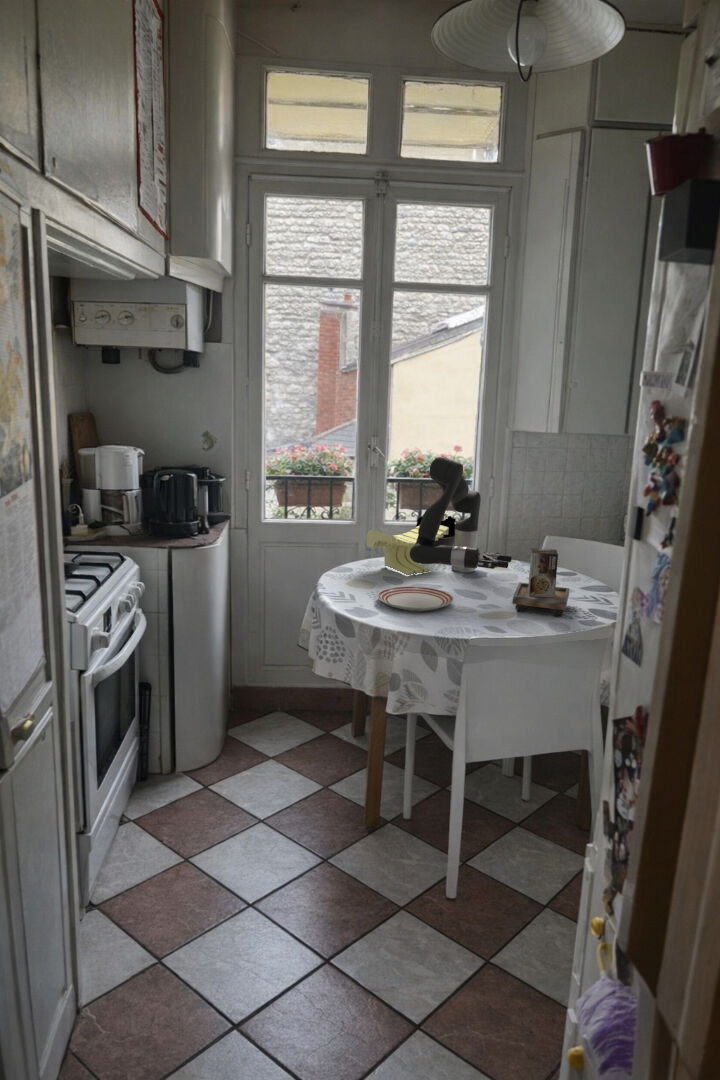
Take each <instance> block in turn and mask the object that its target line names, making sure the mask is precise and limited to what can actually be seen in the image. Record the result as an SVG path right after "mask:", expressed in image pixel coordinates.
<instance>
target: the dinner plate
mask: <svg viewBox="0 0 720 1080" xmlns="http://www.w3.org/2000/svg"><path fill="white" fill-rule="evenodd" d="M376 597H377V599H378V600H379V601H380V602H382V603H384V604H386V605H388V606H390V607H393V608H395V607H396V609H397V608H400V609H399V610H401V609H404V610H403V611H406V610H410V611H409V612H428V611H433V610H437V609H440V608H444V607H446V606H448V605H450V604H451V603H453V601H454V600H455V597H454V596H453V594H451V593H449V592H447V591H445V590H443V589H439V588H434V587H433V588H432V587H428V586H427V587H426V586H417V585H401V586H393V587H388V588H384V589H381V590H379V591H378V592H377V593H376Z"/></svg>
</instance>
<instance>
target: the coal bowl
mask: <svg viewBox="0 0 720 1080" xmlns="http://www.w3.org/2000/svg"><path fill="white" fill-rule="evenodd" d="M422 517H423V516H421V517H419V518H417V520H416V524H415V527H417V526H420V523H421V520H422ZM456 520H457V519H456V518H454V517H453V516H451V515H448V516H447V518H445V519H444V520H442V521H441V524H440V525H441V526H445V527H448V528H449V532H448V534H447V535H444V534H443V537H442V538H439V537H438V540H437V541H435V543H434V546H435V547H436V546H440V545H446V546H454V538H455V524H456V522H457V521H456ZM415 527H414V528H413V529H415Z"/></svg>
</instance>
